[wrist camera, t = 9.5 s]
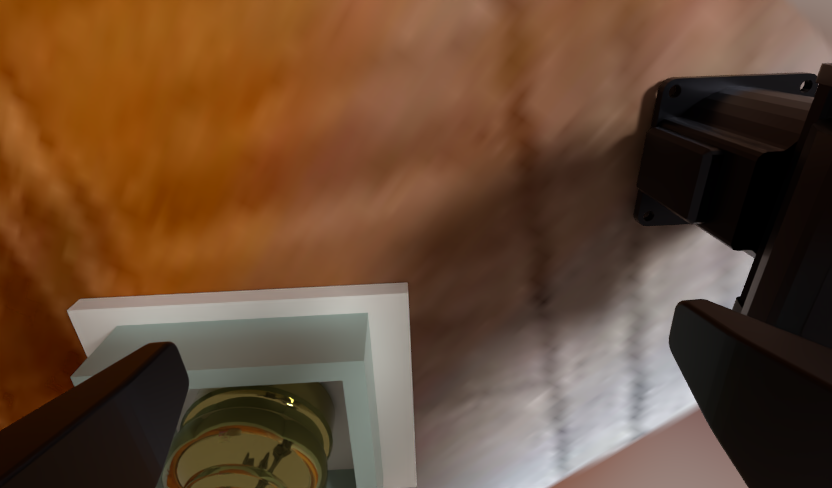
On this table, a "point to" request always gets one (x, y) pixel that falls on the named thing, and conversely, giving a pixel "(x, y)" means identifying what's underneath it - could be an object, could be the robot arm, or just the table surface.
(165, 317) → the grey green tray
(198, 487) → the gold rounded piece
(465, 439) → the table surface
